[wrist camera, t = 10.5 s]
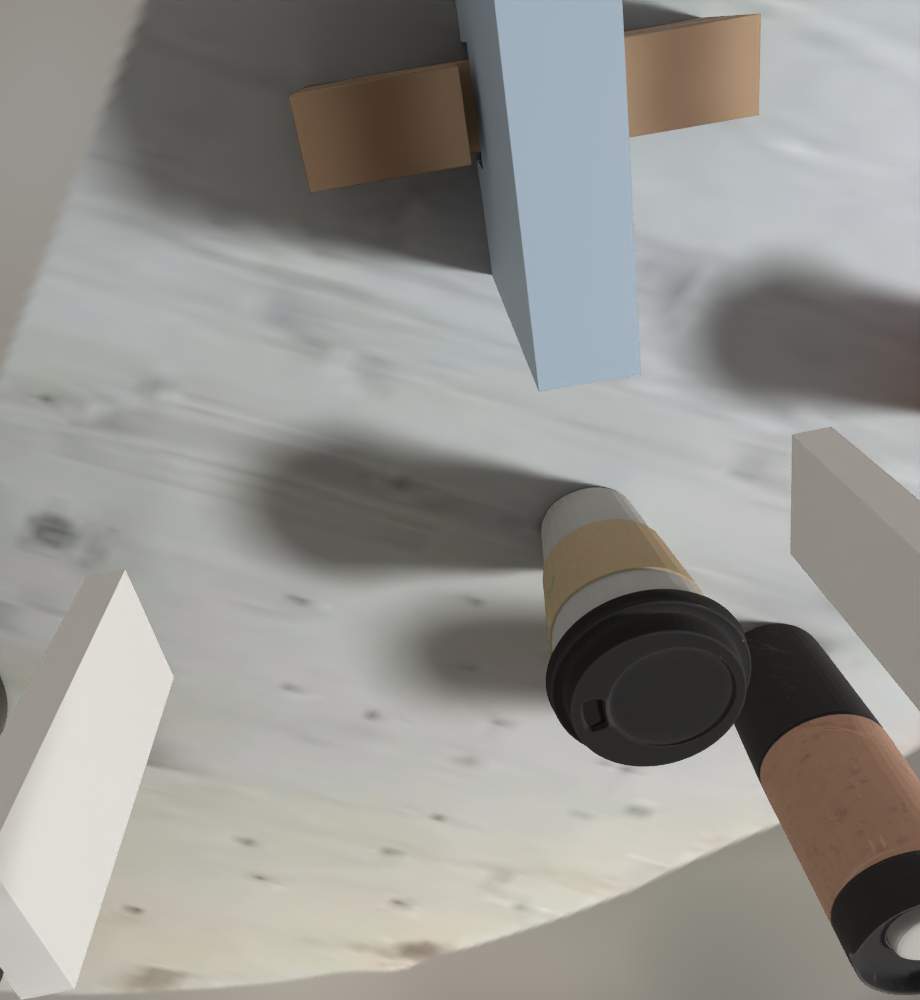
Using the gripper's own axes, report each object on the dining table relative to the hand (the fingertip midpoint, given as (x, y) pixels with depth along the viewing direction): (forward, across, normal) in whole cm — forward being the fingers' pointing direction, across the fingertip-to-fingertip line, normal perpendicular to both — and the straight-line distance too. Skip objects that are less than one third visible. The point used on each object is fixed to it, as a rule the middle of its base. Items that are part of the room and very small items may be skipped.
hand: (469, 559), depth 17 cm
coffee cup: (+29, +7, -18) cm, 35 cm away
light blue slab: (+28, +6, +6) cm, 30 cm away
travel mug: (+29, +18, -31) cm, 46 cm away
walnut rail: (+28, +6, +6) cm, 30 cm away
